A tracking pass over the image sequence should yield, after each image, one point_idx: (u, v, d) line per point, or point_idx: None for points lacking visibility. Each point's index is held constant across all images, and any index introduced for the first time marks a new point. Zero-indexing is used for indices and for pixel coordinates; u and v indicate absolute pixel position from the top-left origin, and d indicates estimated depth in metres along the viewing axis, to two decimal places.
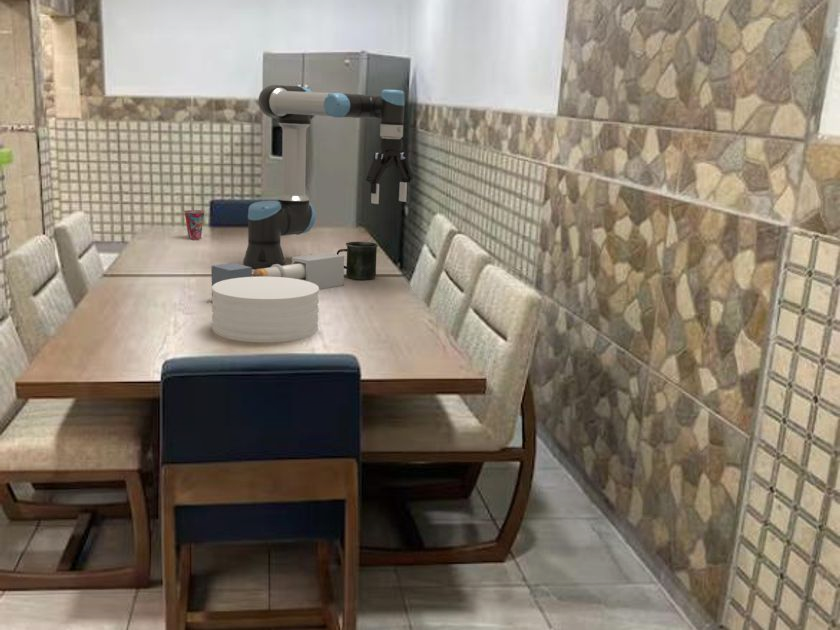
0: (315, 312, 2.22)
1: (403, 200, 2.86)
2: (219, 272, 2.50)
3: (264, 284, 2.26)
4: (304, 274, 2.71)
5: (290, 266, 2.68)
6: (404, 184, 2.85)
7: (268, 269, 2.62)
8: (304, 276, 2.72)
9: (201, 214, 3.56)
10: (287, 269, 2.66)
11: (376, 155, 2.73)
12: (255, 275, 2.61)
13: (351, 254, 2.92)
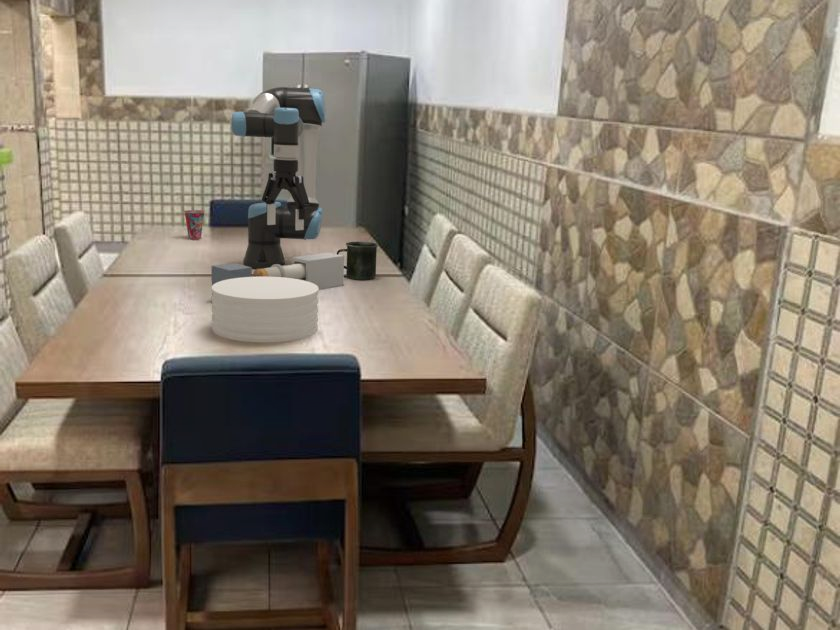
0: (315, 312, 2.22)
1: None
2: (219, 272, 2.50)
3: (264, 284, 2.26)
4: (304, 274, 2.71)
5: (290, 266, 2.68)
6: None
7: (268, 269, 2.62)
8: (304, 276, 2.72)
9: (201, 214, 3.56)
10: (287, 269, 2.66)
11: None
12: (255, 275, 2.61)
13: (351, 254, 2.92)
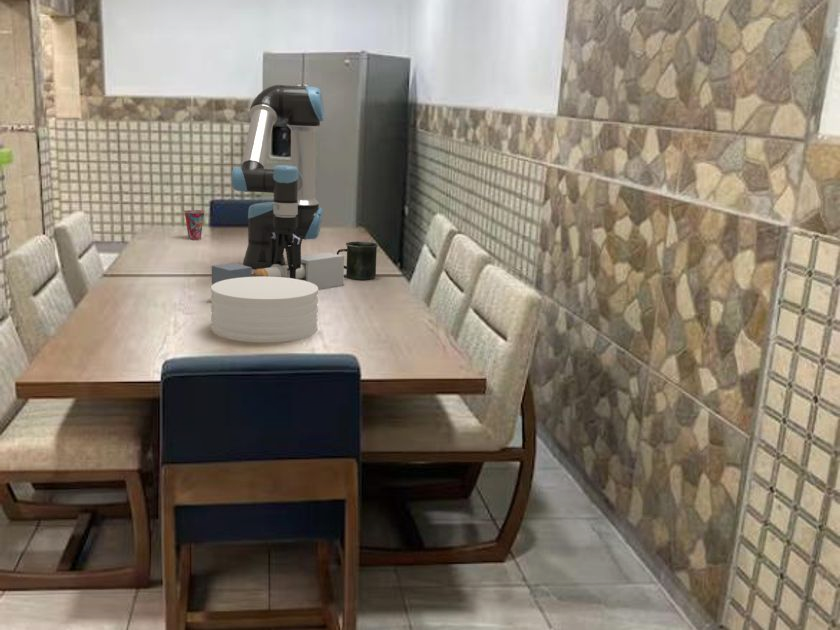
0: (314, 312, 2.22)
1: None
2: (219, 272, 2.50)
3: (263, 284, 2.26)
4: (304, 274, 2.71)
5: None
6: None
7: (268, 269, 2.62)
8: (304, 276, 2.72)
9: (201, 214, 3.56)
10: None
11: None
12: (255, 275, 2.61)
13: (351, 254, 2.92)
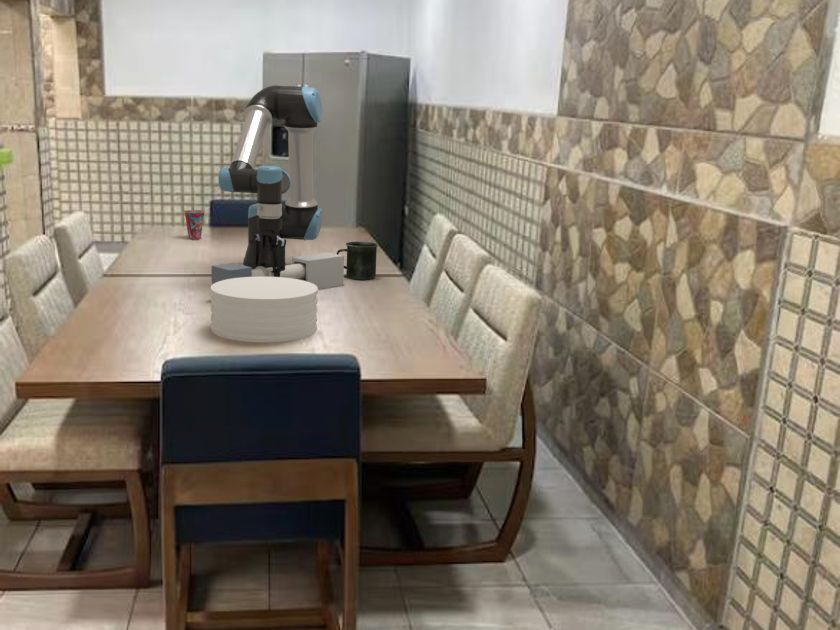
0: (314, 312, 2.22)
1: None
2: (219, 272, 2.50)
3: (263, 284, 2.26)
4: (289, 276, 2.67)
5: None
6: None
7: (252, 271, 2.57)
8: None
9: (201, 214, 3.56)
10: None
11: None
12: None
13: (351, 254, 2.92)
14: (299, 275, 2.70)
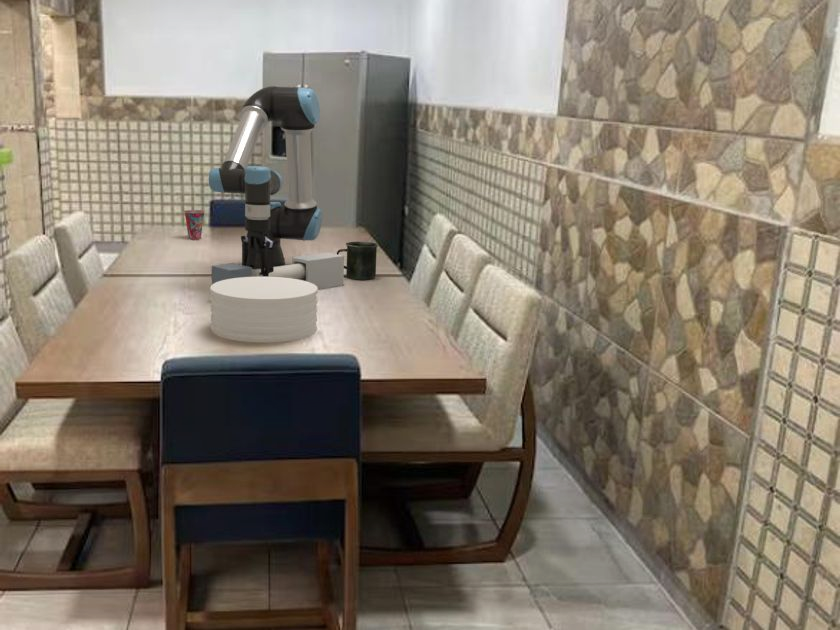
0: (314, 312, 2.22)
1: None
2: (219, 272, 2.50)
3: (263, 284, 2.26)
4: None
5: None
6: None
7: None
8: None
9: (201, 214, 3.56)
10: (260, 272, 2.58)
11: None
12: None
13: (351, 254, 2.92)
14: (288, 277, 2.66)
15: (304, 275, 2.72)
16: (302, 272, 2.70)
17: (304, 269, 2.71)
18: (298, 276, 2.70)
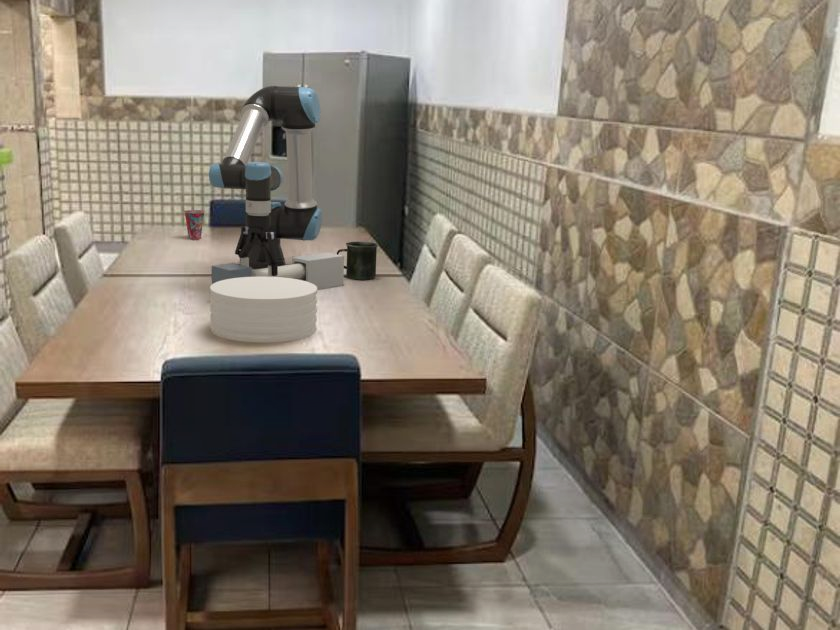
0: (313, 312, 2.22)
1: None
2: (219, 272, 2.50)
3: (262, 284, 2.26)
4: None
5: (263, 270, 2.60)
6: None
7: None
8: None
9: (201, 214, 3.56)
10: (260, 272, 2.58)
11: None
12: None
13: (351, 254, 2.92)
14: (288, 277, 2.66)
15: (304, 275, 2.72)
16: (301, 272, 2.70)
17: (304, 269, 2.71)
18: (298, 276, 2.70)
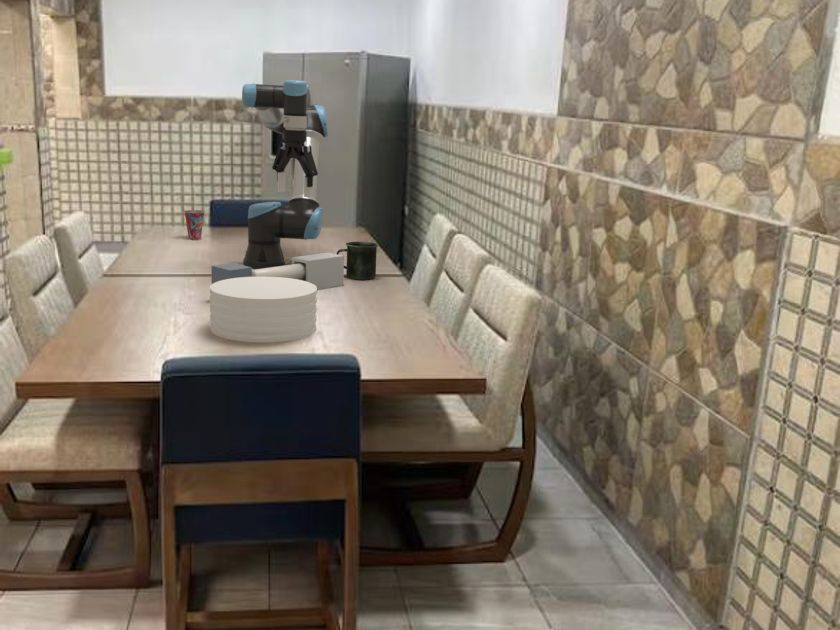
0: (313, 312, 2.22)
1: None
2: (219, 272, 2.50)
3: (262, 284, 2.26)
4: None
5: (263, 270, 2.60)
6: None
7: None
8: None
9: (201, 214, 3.56)
10: (260, 272, 2.58)
11: None
12: None
13: (351, 254, 2.92)
14: (288, 277, 2.66)
15: (304, 275, 2.72)
16: (301, 272, 2.70)
17: (304, 269, 2.71)
18: (298, 276, 2.70)
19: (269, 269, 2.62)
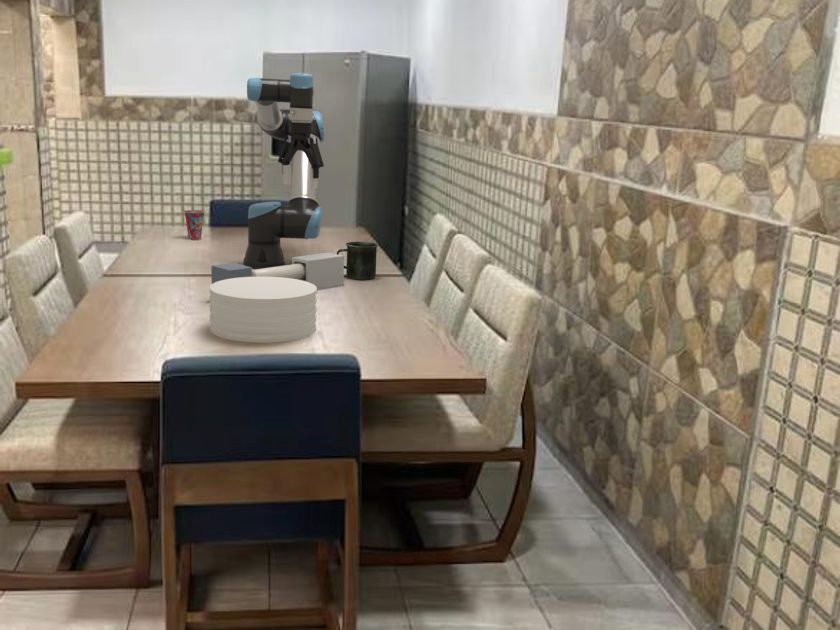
0: (313, 312, 2.22)
1: None
2: (219, 272, 2.50)
3: (262, 284, 2.26)
4: None
5: (263, 270, 2.60)
6: None
7: None
8: None
9: (201, 214, 3.56)
10: (260, 272, 2.58)
11: None
12: None
13: (351, 254, 2.92)
14: (288, 277, 2.66)
15: (304, 275, 2.72)
16: (301, 272, 2.70)
17: (304, 269, 2.71)
18: (298, 276, 2.70)
19: (269, 269, 2.62)
